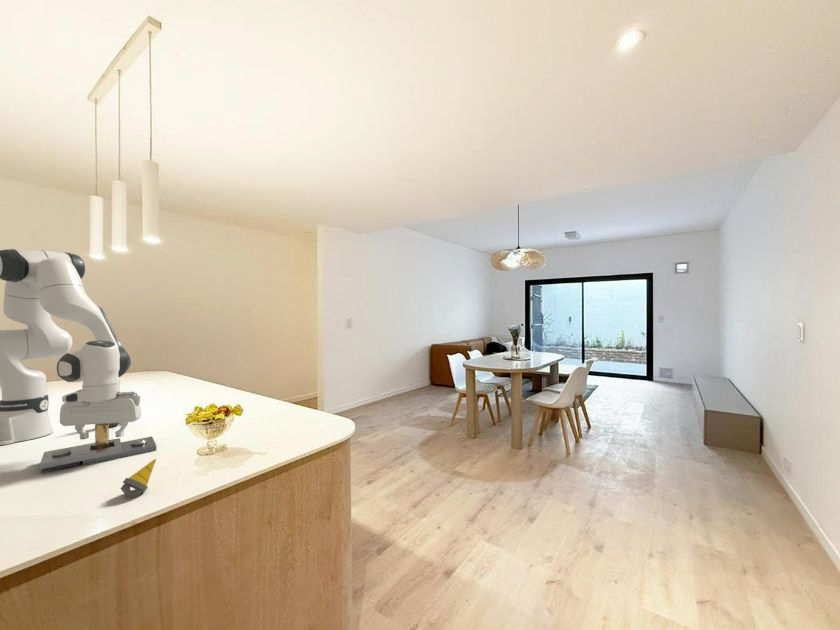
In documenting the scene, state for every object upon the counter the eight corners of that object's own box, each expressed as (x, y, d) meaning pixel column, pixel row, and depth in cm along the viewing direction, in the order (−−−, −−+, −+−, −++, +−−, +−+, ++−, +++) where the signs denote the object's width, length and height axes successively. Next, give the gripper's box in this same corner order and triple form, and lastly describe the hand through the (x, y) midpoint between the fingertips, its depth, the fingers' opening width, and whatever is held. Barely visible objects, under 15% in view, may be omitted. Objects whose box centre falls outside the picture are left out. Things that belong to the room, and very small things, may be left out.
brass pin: (92, 458, 111) (92, 425, 111) (99, 454, 114) (99, 422, 114) (104, 457, 111) (104, 424, 111) (111, 453, 114) (111, 421, 114)
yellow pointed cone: (116, 497, 88) (148, 457, 94) (138, 505, 88) (167, 465, 95) (110, 491, 84) (143, 451, 90) (132, 500, 84) (164, 459, 91)
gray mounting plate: (39, 474, 99) (39, 461, 99) (44, 461, 108) (44, 449, 108) (156, 450, 117) (156, 438, 117) (152, 440, 126) (151, 429, 126)
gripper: (145, 389, 118) (145, 431, 118) (71, 392, 113) (71, 436, 113) (134, 393, 111) (134, 438, 112) (55, 397, 107) (56, 443, 107)
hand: (102, 437), depth 112 cm, fingers open, 8 cm apart
